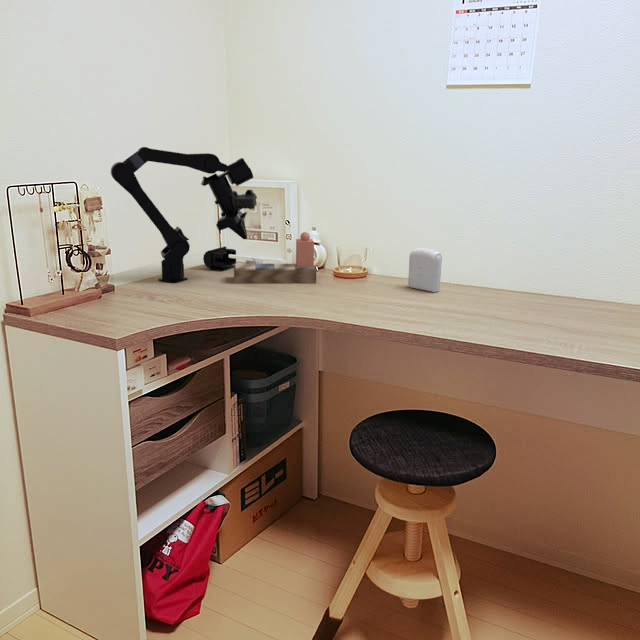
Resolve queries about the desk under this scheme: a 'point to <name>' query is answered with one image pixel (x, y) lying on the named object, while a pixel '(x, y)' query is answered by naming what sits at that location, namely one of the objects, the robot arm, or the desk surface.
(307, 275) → the track
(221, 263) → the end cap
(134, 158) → the robot arm
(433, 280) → the photo printer
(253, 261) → the die
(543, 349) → the desk surface
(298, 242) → the pawn
